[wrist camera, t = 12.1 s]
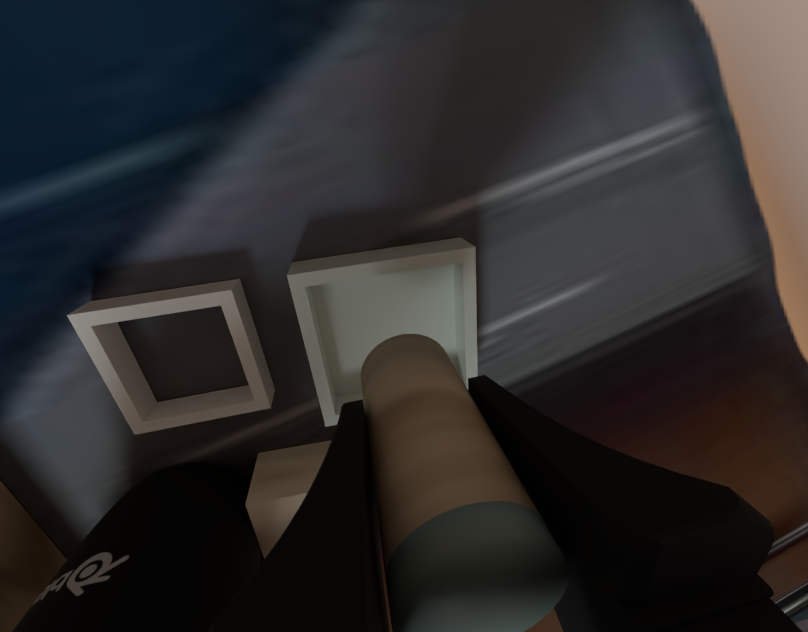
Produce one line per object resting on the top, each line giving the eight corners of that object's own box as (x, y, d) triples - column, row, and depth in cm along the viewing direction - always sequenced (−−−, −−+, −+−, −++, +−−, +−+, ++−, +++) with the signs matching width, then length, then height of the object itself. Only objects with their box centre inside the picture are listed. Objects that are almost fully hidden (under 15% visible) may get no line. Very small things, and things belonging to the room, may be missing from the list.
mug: (186, 415, 18) (43, 670, 9) (309, 495, 22) (293, 731, 13) (32, 539, 20) (-225, 867, 11) (173, 594, 23) (72, 871, 14)
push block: (373, 510, 24) (380, 565, 21) (283, 529, 23) (275, 589, 20) (363, 431, 21) (368, 481, 18) (259, 449, 20) (245, 504, 17)
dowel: (451, 401, 15) (561, 626, 8) (367, 418, 15) (402, 673, 7) (447, 326, 13) (578, 521, 6) (353, 342, 13) (379, 572, 6)
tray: (464, 374, 20) (478, 395, 19) (326, 402, 19) (325, 426, 18) (460, 237, 17) (475, 246, 15) (291, 262, 16) (286, 275, 14)
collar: (275, 389, 19) (270, 408, 17) (149, 413, 18) (134, 435, 16) (239, 278, 16) (231, 290, 15) (90, 301, 15) (66, 315, 14)
